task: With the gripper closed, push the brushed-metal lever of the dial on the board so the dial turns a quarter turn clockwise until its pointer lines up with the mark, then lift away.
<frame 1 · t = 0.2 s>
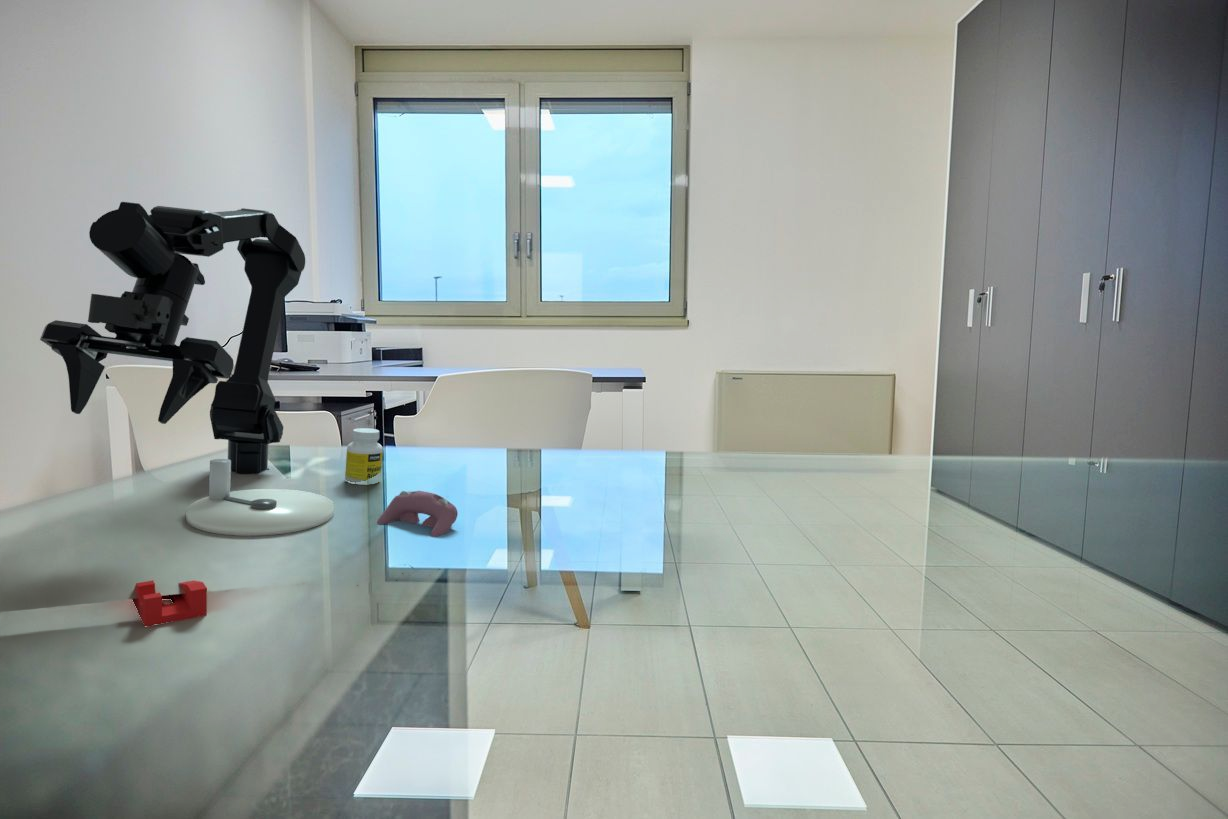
hand: (118, 417, 77), 14 cm above the table, tool tilted 30°, fingers open, 9 cm apart
bracket: (169, 613, 64), on the table
dial board: (262, 525, 88), on the table
supplement bottle: (362, 491, 108), on the table
dial: (264, 491, 87), point 4 cm above the table, hinge at 0.0°
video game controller: (416, 537, 90), on the table
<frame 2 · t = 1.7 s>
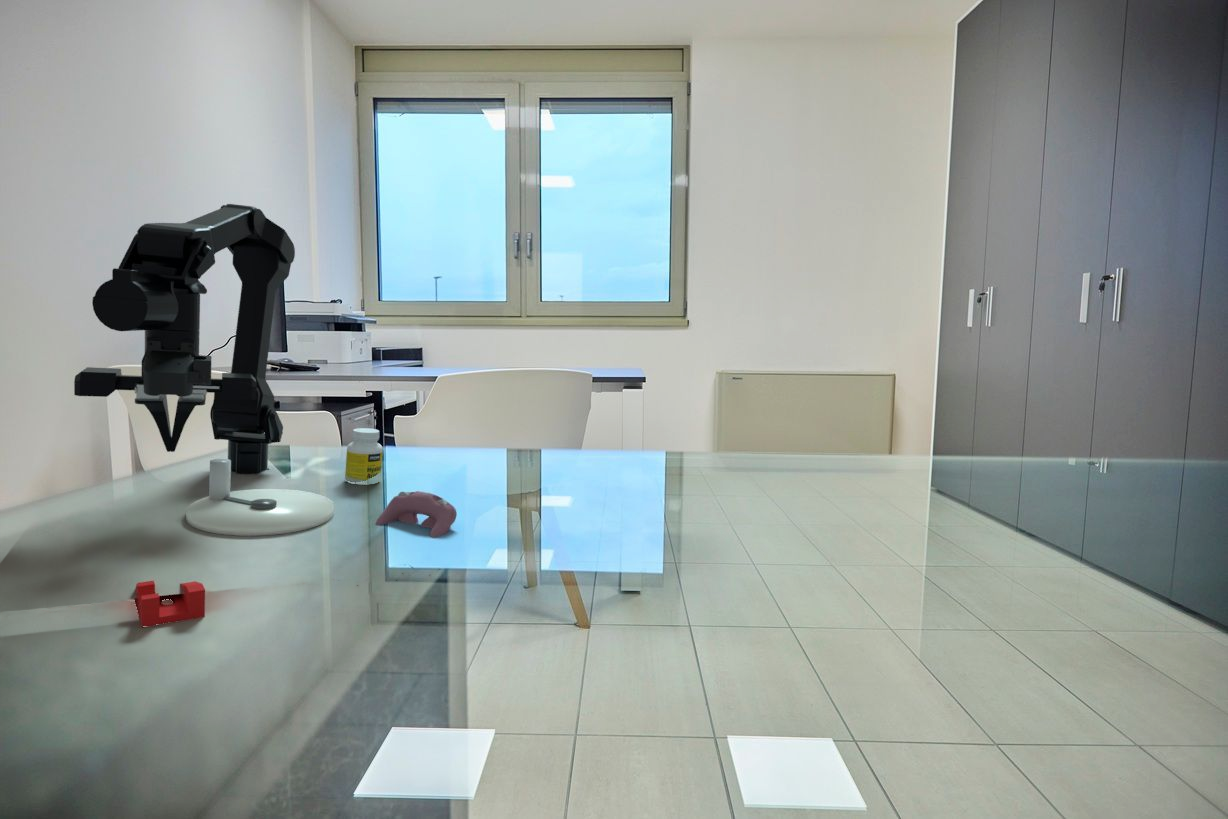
hand: (171, 451, 86), 9 cm above the table, tool pointing down, fingers closed
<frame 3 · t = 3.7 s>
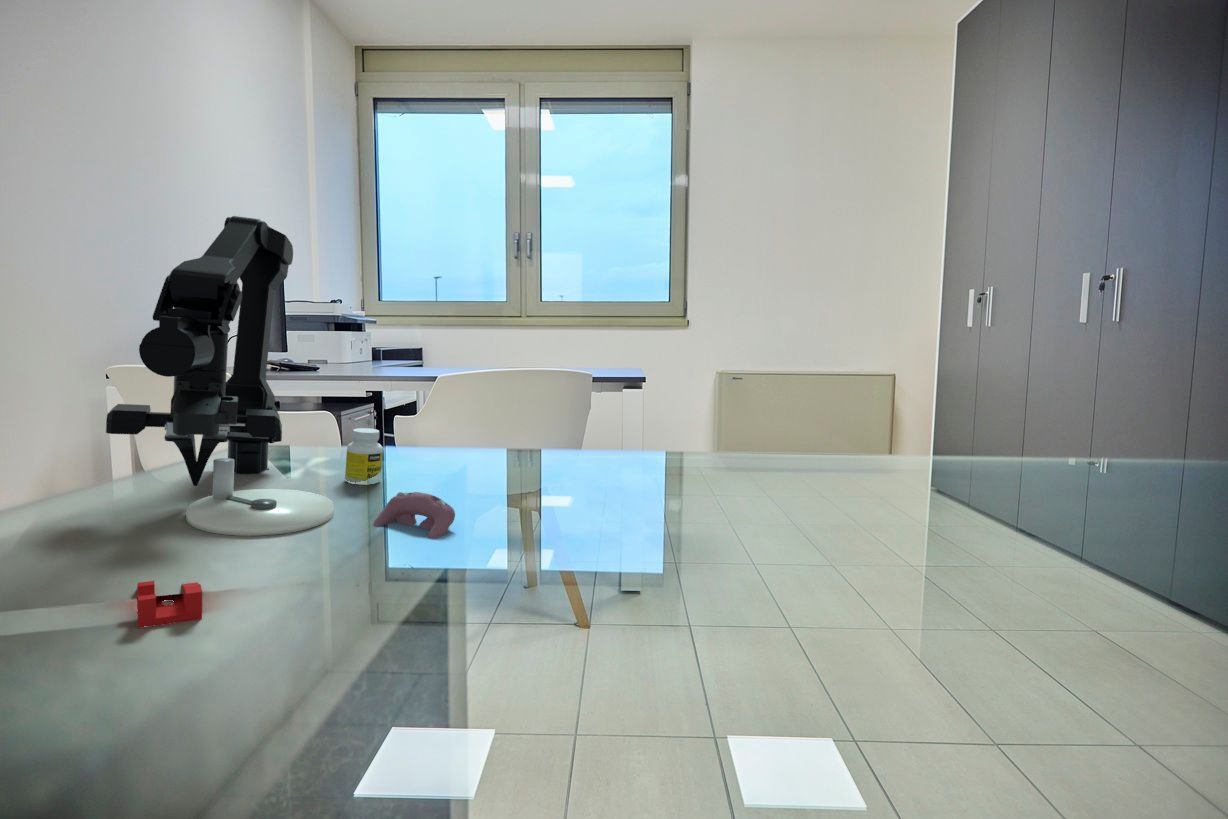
hand: (195, 485, 89), 4 cm above the table, tool pointing down, fingers closed
dial: (264, 491, 87), point 4 cm above the table, hinge at 4.5°, touching gripper
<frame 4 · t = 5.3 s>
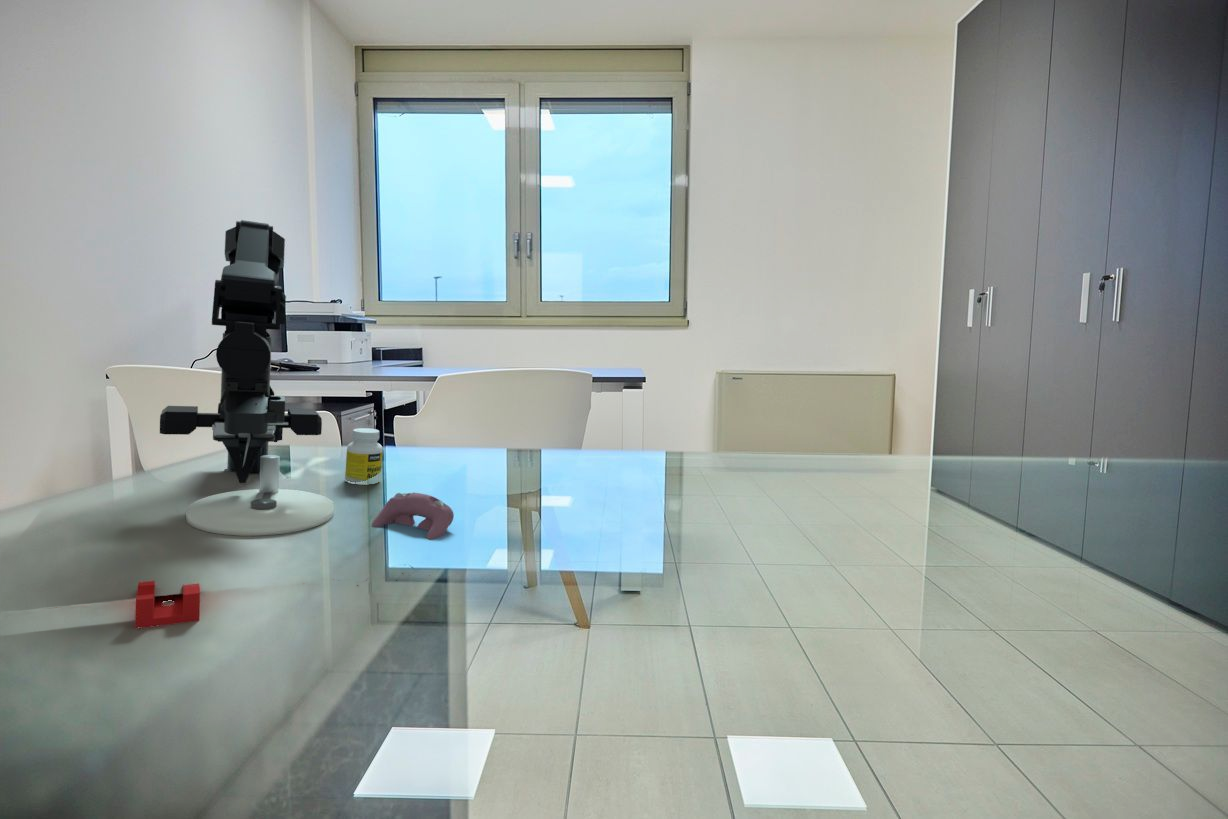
hand: (242, 482, 92), 4 cm above the table, tool pointing down, fingers closed
dial: (264, 491, 87), point 4 cm above the table, hinge at 53.3°, touching gripper
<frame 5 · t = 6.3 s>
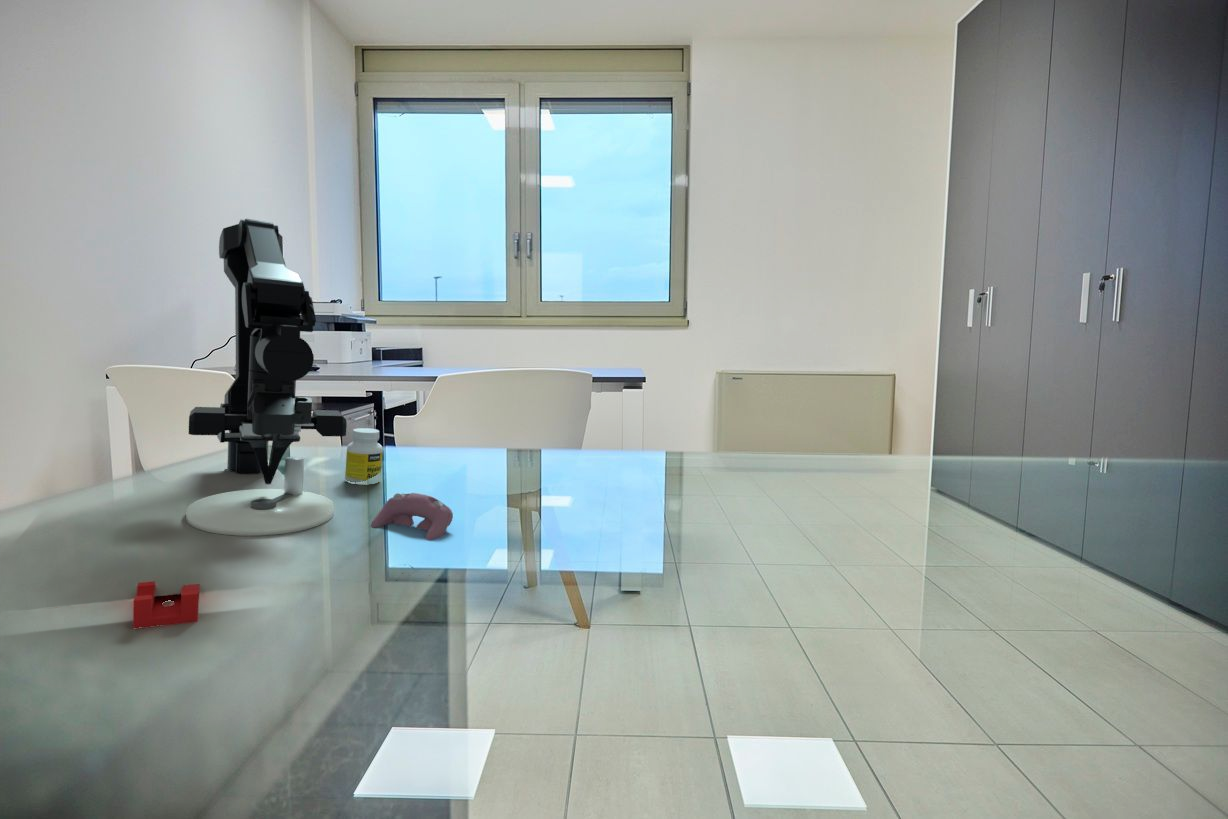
hand: (268, 483, 93), 4 cm above the table, tool pointing down, fingers closed
dial: (264, 491, 87), point 4 cm above the table, hinge at 80.1°, touching gripper
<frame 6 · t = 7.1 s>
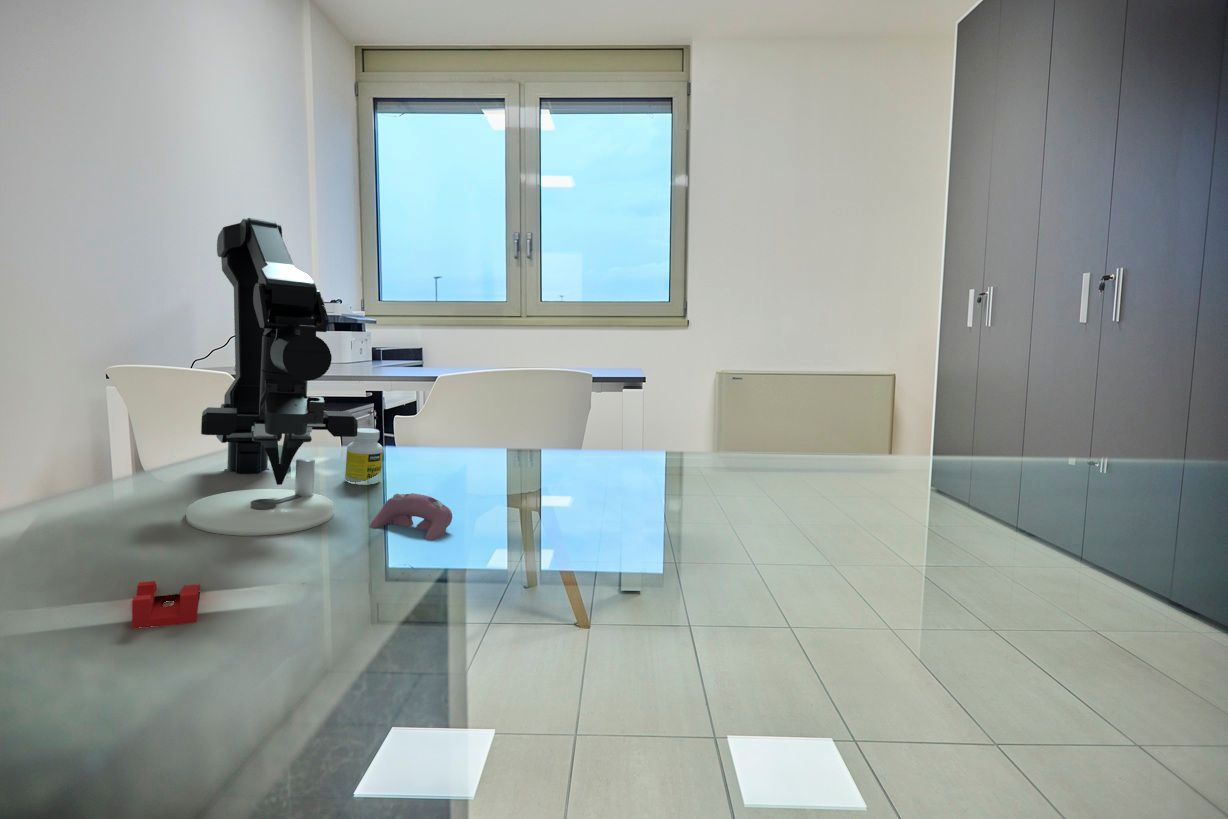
hand: (279, 484, 93), 4 cm above the table, tool pointing down, fingers closed
dial: (264, 491, 87), point 4 cm above the table, hinge at 94.0°, touching gripper
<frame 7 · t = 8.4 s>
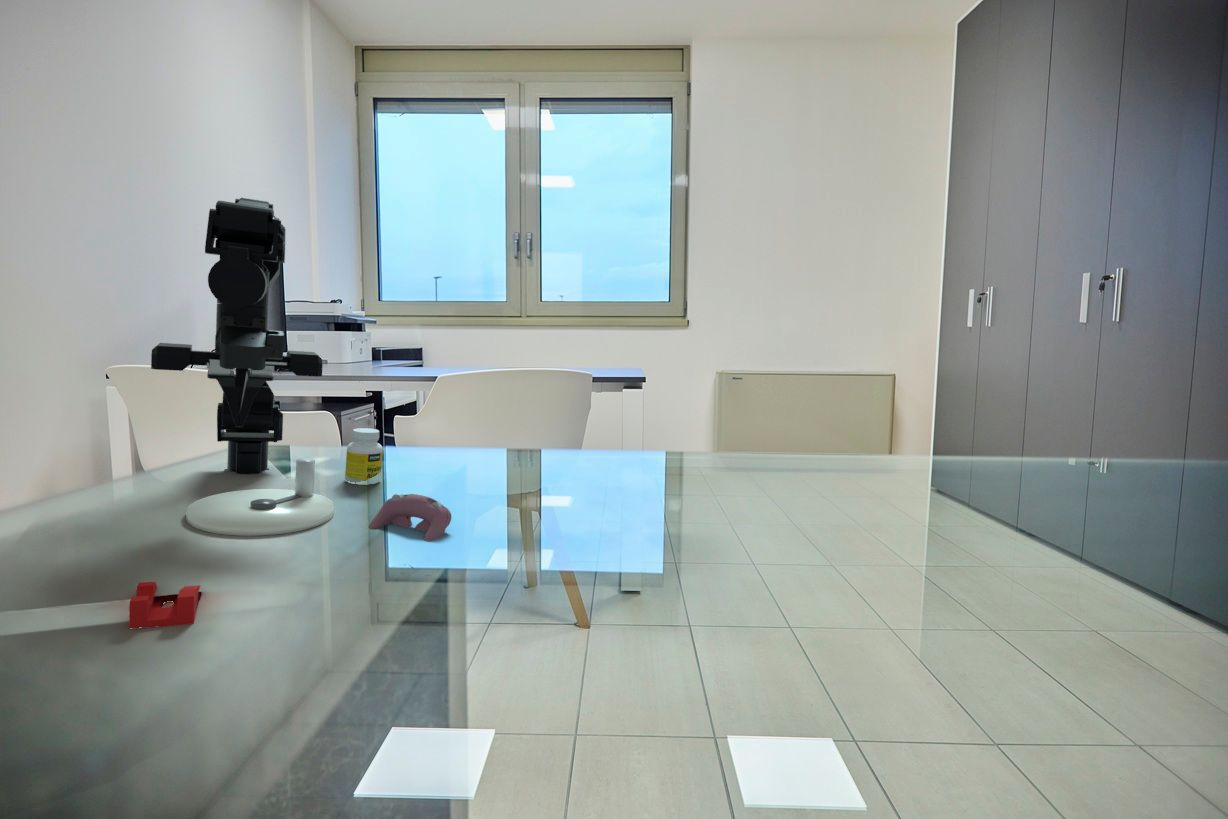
hand: (239, 426, 87), 13 cm above the table, tool pointing down, fingers closed
dial: (264, 491, 87), point 4 cm above the table, hinge at 94.1°
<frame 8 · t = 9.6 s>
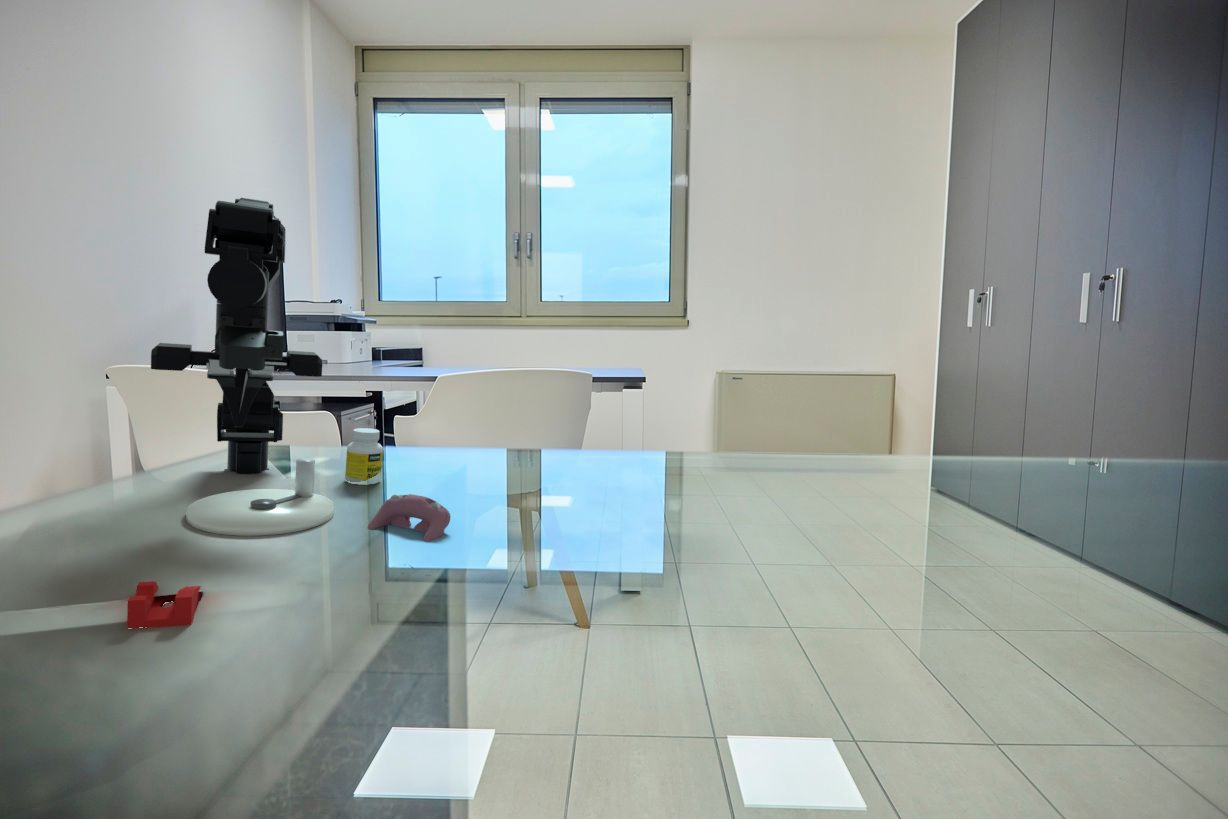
hand: (238, 426, 87), 12 cm above the table, tool pointing down, fingers closed
at the end: dial at +94° (first picture: +0°); dial touching nothing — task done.
